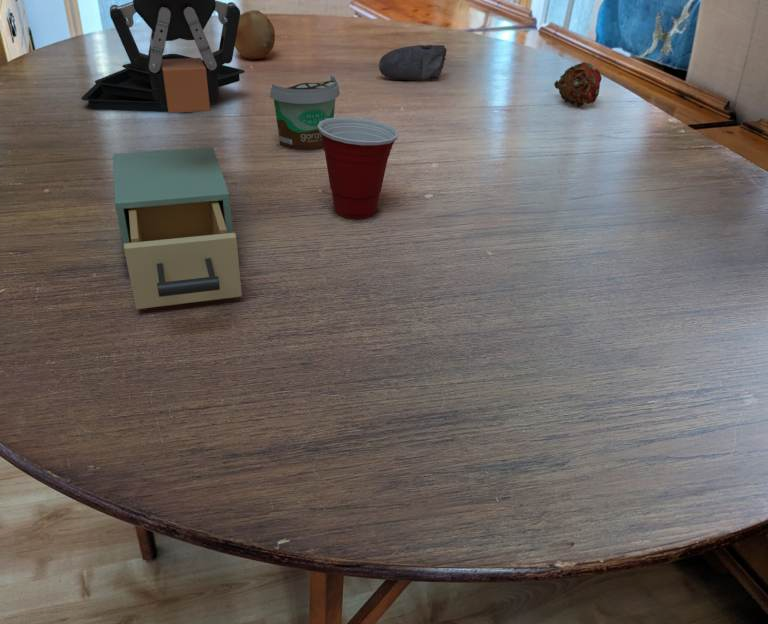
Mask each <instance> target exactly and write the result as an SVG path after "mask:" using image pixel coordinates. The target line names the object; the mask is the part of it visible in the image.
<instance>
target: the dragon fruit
mask: <svg viewBox="0 0 768 624" xmlns="http://www.w3.org/2000/svg"><path fill="white" fill-rule="evenodd" d="M602 79H603V78H602V74H601V71H599V69H594V66H593V65H592V64H590V63H587V62H585V61H583V62H581V63H578V64H575V65H572V66H570V67H569V68H567V69H565V70H564V73H563V74H562V75H560V76H559V79H558V80H555V82H554V83H553V86H554V87H555V89H557V90H558V93H559V94H560V99H562V100H563V102H564V103H569V104H571V105H572V106H574V107H577V108H581V107H582V106H583V105H585V104H587V105H588V104H594V103H595V102H596V100H597V98H598V96H599V94H600V88H601V81H602Z"/></svg>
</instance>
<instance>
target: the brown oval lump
mask: <svg viewBox="0 0 768 624" xmlns="http://www.w3.org/2000/svg"><path fill="white" fill-rule="evenodd" d="M275 42H276V32H275V27H274V25H273V23H272V21H271V19H269V17H268V16H267V15H266V14H264V13H263V12H261V11H260V10H259V9H258V10H257V9H252V10H251V9H250V10H247V11H245V12H244V13H241V14H240V19H239V24H238V30H237V36H236V41H235V47H234V49H236V51H237V52H238V53H239V55H241V56H242V57H244V58H246V59H248V60H251V61H253V60H260V59H263V58H266V57H267V56H268V55H269V54H270V53H271V51H272V50H273V48H274V46H275Z"/></svg>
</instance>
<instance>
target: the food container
mask: <svg viewBox="0 0 768 624" xmlns="http://www.w3.org/2000/svg"><path fill="white" fill-rule="evenodd" d="M329 79H330V80H327V81H321V82H301V83H298V84H295V85H293V86H289V87H283V86H280V85H279V86H278V85H275V84H273V83H272V84H271V88H270V93H269V99H272V100H273V106H274V110H275V111H274V112H275V118H276V123H277V124H276V125H277V132H278V139H279V145H280V146H282V147H284V148H288V149H290V150H298V151H314V150H321V149H324V147H323V142H322V136H321V133H320V131H319V130H318V124H319V122H320V121H323V120H325V119H328V118H335V107H336V99H337V98H338V97H340V94H341V93H340V88H339V87H340V86H339V83H338V81H337V78H336V77H335V76H334V75H331V74H330V78H329Z"/></svg>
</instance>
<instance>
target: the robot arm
mask: <svg viewBox="0 0 768 624" xmlns="http://www.w3.org/2000/svg"><path fill="white" fill-rule="evenodd" d="M214 12H216V13H217V19H218V21H219V23H220V24H221V25H222V29H221V33H220V39H219V45H218V47H219V48H218V50H216V51H215V50H214V51H212V49H211V46H210V43H209V41H208V39H207V37H206V35H205V32H204V30H205V28H206V27H207V24H208V22H210V19H211V17H212V16H213V14H214ZM136 13H137V14H138V15H139V16H140V18H141V19H142V20H143V21H144V23H145V24H146V26H148V27H149V28H150V29H151V33H150V39H149V47H148V54H145V53H142V52H140V49H139V48H138V45H137V42H136V41H135V38H134V36H133V34H132V32H131V29H130V28H132V27H133V26H134V23H135V22H134V15H135V14H136ZM240 15H241V10H240V8H239V7H238V6H237V4H236V3H235V2H233V1H230V2H228V3H227V2H223V1H219V0H132V1H130V2H127V3H124V4H121V5H118V4H111V6H109V17H110V19H111V21H112V23H113V26H114V28H115V31H116V32H117V35H118V37H119V39H120V42H121V44H122V47H123V48H124V50H125V53H126V55H127V57H128V58H127V59H129V63H131V64H132V66H134V67H136V68H139V67H140V68H143V69H146V70H147V71H148V72H149V73H150V79H151V86H152V92H153V97H154V99H155V101H156V102H160V103H161V107H167V100H166V92H165V85H164V78H163V72H162V69H161V67H160V66H161V61H162V55H164V53H165V47H166V43H167V42H173V41H176V40H184V41H194V42H195V44H196V47H197V49H198V51H199V54H200V56H201V60H203V61H204V66H205V68H206V74H207V84H208V93H209V103H210V105H214V104H215V99H219V96H220V87H218V77H217V69H218V67H219V66H221V65H225V64H226V65H227V64H230V63H232V61H233V58H234V52H235V41H236V36H237V30H238V24H239V19H240Z"/></svg>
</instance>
